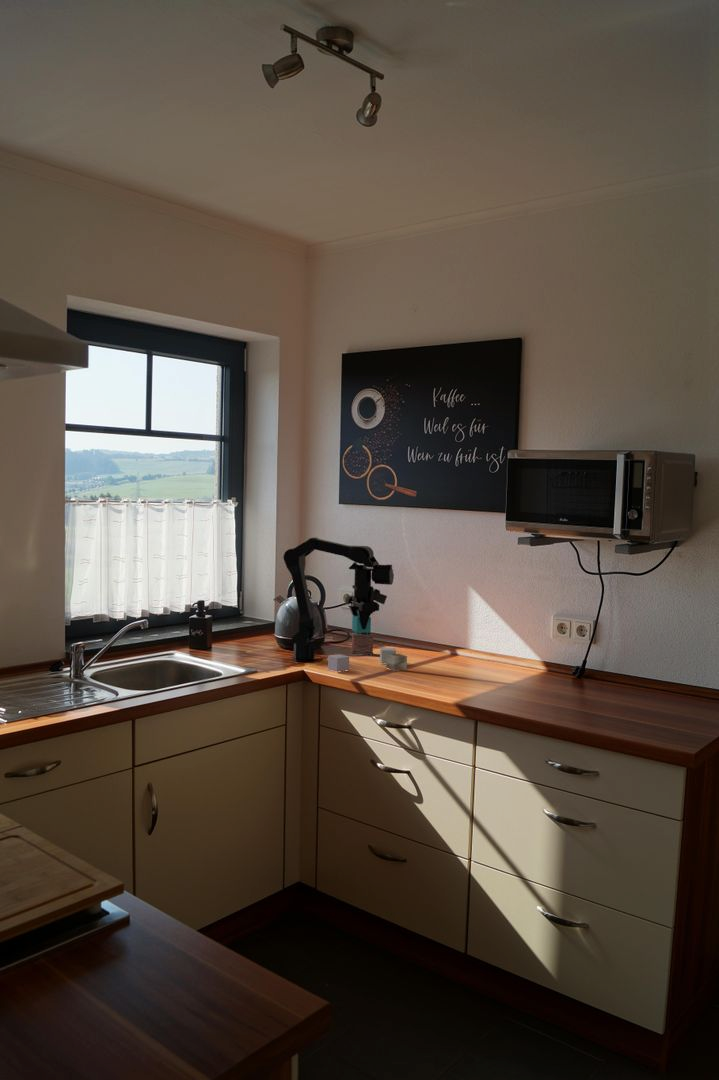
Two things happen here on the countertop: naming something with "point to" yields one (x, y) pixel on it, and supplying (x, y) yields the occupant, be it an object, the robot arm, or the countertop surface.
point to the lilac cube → (338, 662)
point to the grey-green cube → (396, 662)
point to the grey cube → (386, 651)
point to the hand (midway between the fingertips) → (361, 628)
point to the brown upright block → (362, 643)
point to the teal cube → (357, 626)
